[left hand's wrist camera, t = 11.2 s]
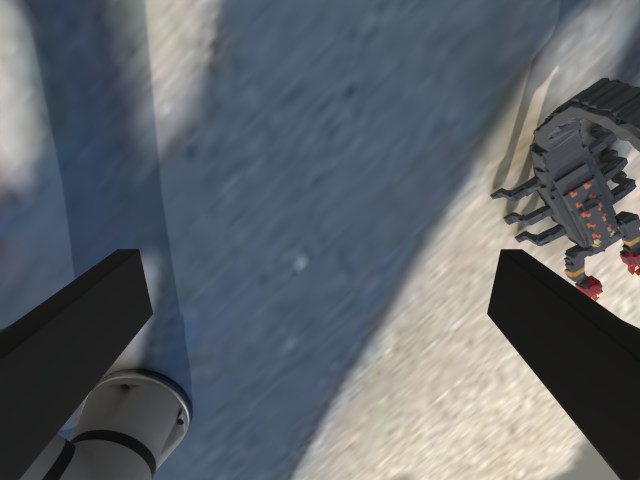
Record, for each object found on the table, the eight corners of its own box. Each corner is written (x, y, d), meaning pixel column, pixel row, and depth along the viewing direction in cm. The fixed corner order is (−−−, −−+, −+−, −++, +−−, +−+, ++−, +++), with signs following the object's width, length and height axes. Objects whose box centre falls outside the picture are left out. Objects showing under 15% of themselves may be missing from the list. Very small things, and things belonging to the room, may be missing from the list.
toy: (569, 49, 34) (814, -7, 17) (651, 242, 42) (875, 334, 25) (453, 131, 37) (565, 153, 20) (550, 298, 45) (689, 414, 28)
